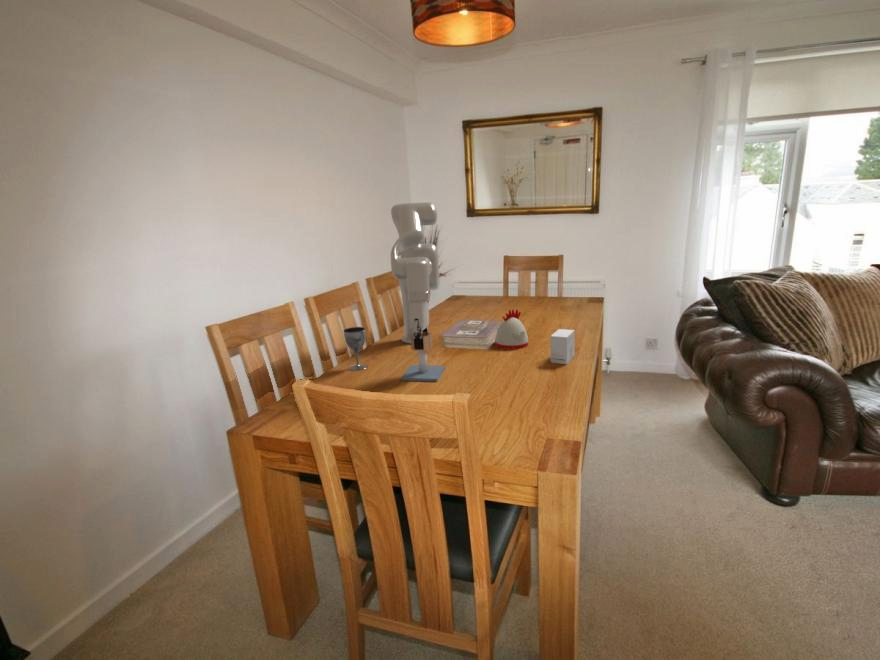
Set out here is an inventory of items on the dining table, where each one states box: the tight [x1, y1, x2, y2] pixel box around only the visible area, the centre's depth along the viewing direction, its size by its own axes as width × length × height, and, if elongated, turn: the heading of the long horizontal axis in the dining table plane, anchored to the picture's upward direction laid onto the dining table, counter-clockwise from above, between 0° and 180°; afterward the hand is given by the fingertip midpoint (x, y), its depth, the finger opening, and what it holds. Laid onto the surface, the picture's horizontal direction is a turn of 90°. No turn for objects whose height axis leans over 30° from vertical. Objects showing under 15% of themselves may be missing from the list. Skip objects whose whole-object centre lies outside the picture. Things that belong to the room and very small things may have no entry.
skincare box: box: [550, 328, 576, 365], centre depth 173 cm, size 10×6×10 cm, turn 149°
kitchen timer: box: [494, 308, 529, 350], centre depth 194 cm, size 14×14×15 cm
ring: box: [410, 331, 433, 352], centre depth 163 cm, size 7×7×5 cm
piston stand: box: [400, 350, 446, 382], centre depth 165 cm, size 13×13×10 cm
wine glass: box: [343, 326, 368, 372], centre depth 175 cm, size 8×8×15 cm
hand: (421, 345), depth 163 cm, fingers closed on ring, 7 cm apart
